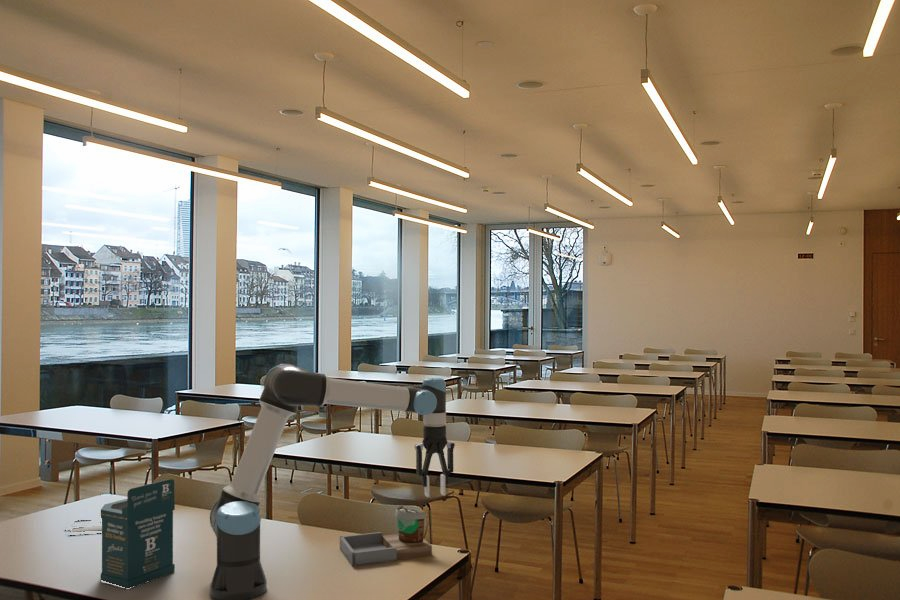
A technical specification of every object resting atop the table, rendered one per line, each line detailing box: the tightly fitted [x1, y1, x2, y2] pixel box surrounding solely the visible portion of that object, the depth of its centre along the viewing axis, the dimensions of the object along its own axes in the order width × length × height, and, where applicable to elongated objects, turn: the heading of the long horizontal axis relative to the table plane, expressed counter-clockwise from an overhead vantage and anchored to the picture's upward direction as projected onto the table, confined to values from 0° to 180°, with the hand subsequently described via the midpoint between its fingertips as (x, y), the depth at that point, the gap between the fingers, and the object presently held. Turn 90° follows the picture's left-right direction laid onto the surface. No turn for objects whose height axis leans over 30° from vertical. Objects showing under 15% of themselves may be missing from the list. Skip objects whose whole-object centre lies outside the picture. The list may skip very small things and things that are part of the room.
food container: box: [394, 504, 427, 543], centre depth 238 cm, size 12×6×10 cm, turn 43°
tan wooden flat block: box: [382, 533, 433, 561], centre depth 238 cm, size 16×12×3 cm
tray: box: [339, 531, 398, 567], centre depth 233 cm, size 18×14×4 cm
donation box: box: [100, 478, 176, 588], centre depth 216 cm, size 16×16×28 cm
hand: (435, 495), depth 242 cm, fingers open, 5 cm apart
